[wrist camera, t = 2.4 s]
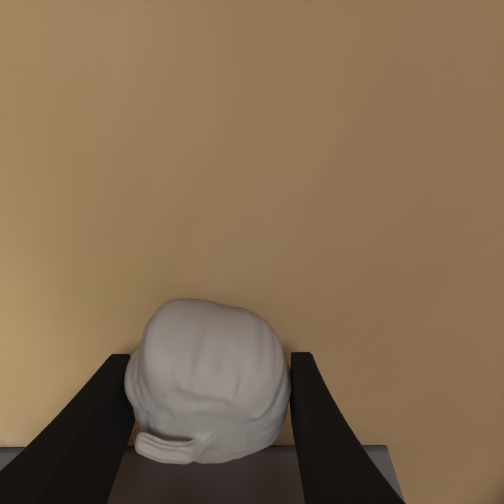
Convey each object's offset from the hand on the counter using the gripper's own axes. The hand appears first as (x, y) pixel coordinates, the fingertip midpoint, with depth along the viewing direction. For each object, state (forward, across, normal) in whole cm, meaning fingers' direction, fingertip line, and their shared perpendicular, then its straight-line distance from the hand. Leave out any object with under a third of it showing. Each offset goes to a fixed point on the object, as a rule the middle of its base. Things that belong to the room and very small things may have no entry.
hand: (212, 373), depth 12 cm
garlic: (+2, 0, 0) cm, 2 cm away
